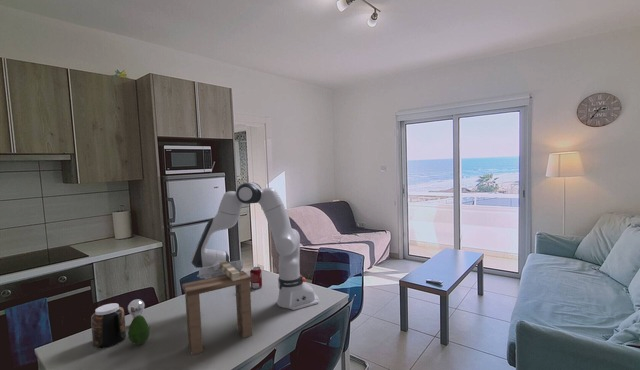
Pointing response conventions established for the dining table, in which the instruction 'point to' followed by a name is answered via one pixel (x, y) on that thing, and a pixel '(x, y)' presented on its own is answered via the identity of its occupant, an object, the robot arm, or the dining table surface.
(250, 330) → the walnut shelf
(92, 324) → the jar
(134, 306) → the light bulb
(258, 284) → the soda can
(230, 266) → the birch bar
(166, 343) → the dining table surface
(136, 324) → the avocado
